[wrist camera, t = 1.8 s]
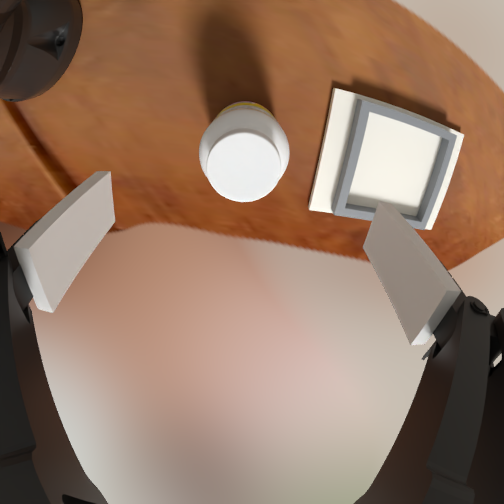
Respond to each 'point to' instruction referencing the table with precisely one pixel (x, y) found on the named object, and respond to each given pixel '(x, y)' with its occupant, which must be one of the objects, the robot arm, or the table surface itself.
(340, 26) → the table surface
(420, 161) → the board
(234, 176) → the supplement bottle
